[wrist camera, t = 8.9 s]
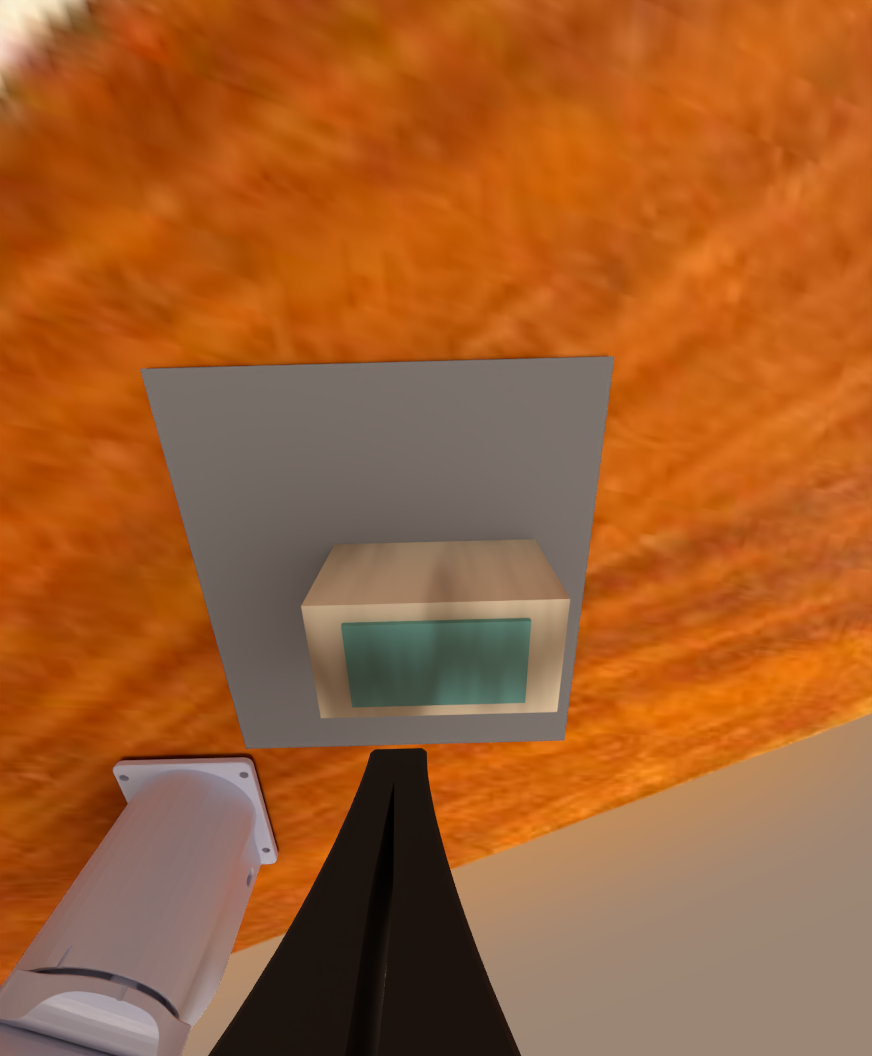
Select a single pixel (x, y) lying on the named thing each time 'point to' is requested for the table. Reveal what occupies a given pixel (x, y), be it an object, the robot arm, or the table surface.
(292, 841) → the table surface
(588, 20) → the table surface
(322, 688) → the maple block
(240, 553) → the rubber mat
